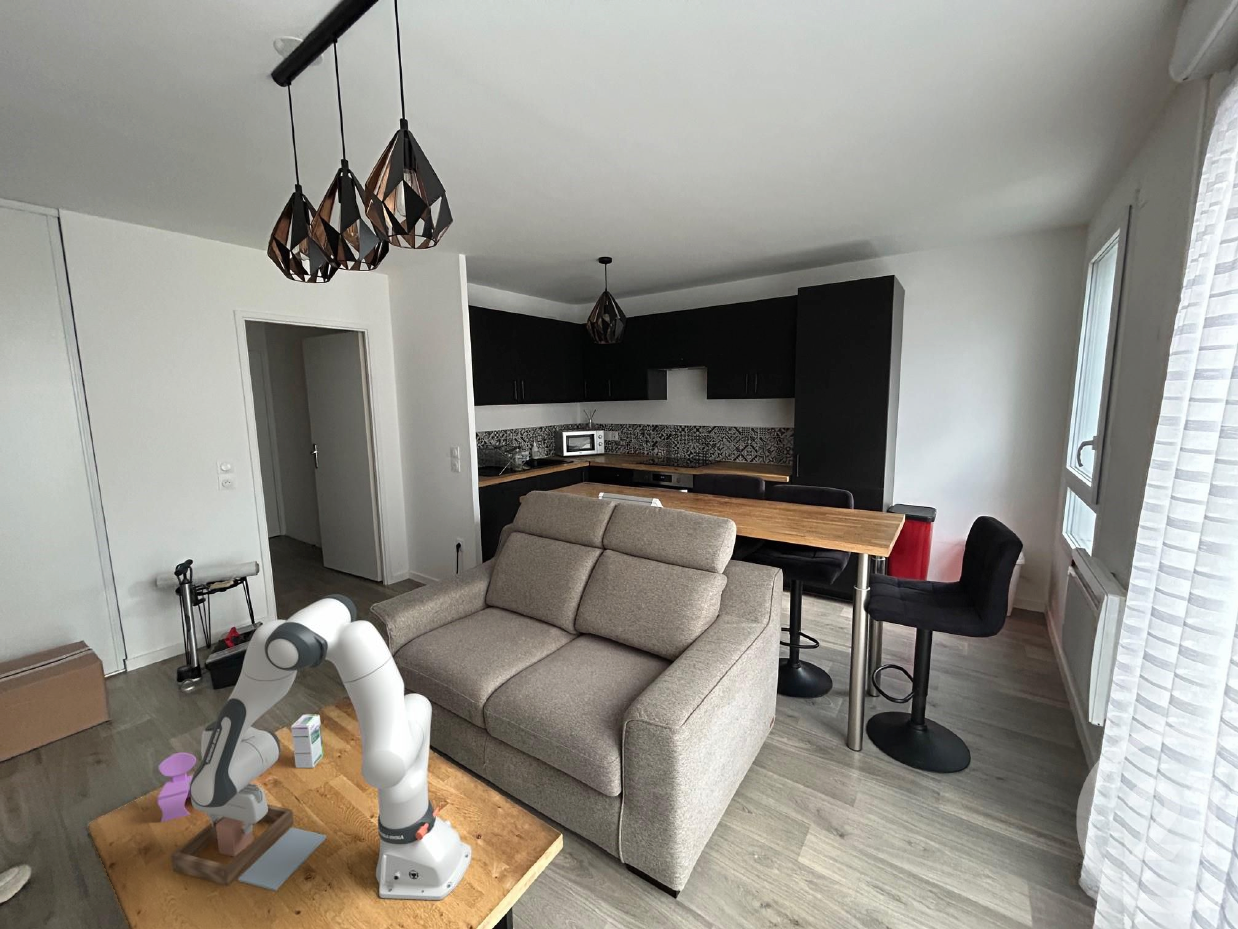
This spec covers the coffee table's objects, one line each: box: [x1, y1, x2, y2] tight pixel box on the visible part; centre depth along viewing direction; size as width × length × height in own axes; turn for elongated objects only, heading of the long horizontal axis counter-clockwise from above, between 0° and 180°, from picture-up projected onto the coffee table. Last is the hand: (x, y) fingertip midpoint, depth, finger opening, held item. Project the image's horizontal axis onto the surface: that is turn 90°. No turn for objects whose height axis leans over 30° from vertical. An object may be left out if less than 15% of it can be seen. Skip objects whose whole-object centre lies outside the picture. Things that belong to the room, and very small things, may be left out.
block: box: [216, 817, 254, 858], centre depth 130 cm, size 5×5×8 cm
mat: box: [237, 827, 327, 892], centre depth 127 cm, size 11×15×1 cm
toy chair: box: [157, 752, 197, 823], centre depth 142 cm, size 8×9×15 cm
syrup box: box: [290, 713, 325, 769], centre depth 160 cm, size 6×6×14 cm
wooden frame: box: [170, 803, 294, 887], centre depth 130 cm, size 17×18×4 cm
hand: (232, 828), depth 129 cm, fingers open, 8 cm apart
